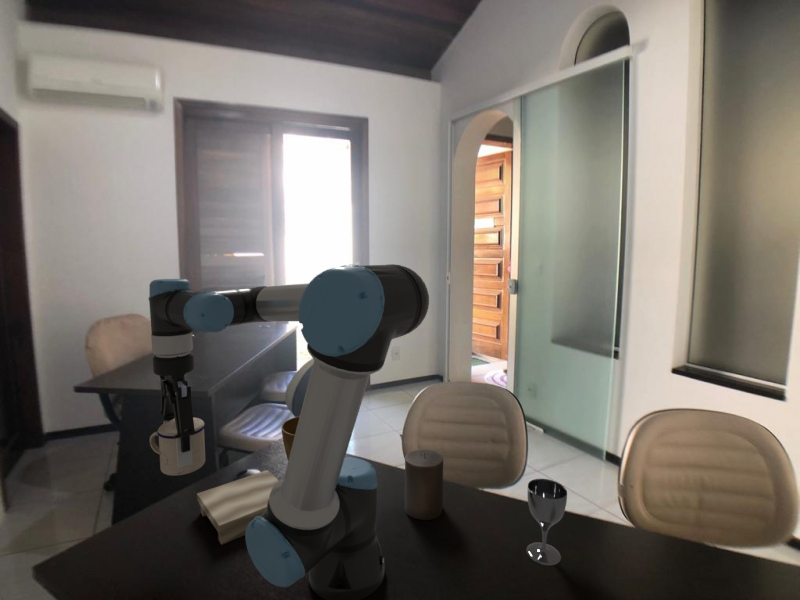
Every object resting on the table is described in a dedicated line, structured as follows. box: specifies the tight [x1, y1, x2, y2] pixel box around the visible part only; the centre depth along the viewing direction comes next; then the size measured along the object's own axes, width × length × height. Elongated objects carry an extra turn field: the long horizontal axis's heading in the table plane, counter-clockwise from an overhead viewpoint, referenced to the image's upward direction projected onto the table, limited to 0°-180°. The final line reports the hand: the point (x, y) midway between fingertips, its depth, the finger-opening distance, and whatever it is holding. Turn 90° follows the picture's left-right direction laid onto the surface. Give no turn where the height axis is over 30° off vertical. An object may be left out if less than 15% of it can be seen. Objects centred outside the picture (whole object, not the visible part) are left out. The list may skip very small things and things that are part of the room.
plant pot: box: [280, 415, 300, 461], centre depth 121 cm, size 15×15×16 cm
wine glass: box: [525, 478, 568, 567], centre depth 92 cm, size 8×8×15 cm
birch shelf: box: [196, 469, 280, 545], centre depth 105 cm, size 16×18×5 cm
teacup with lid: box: [149, 417, 206, 476], centre depth 92 cm, size 12×9×12 cm
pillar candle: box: [404, 448, 444, 521], centre depth 108 cm, size 10×10×15 cm
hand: (178, 456), depth 92 cm, fingers closed on teacup with lid, 9 cm apart
